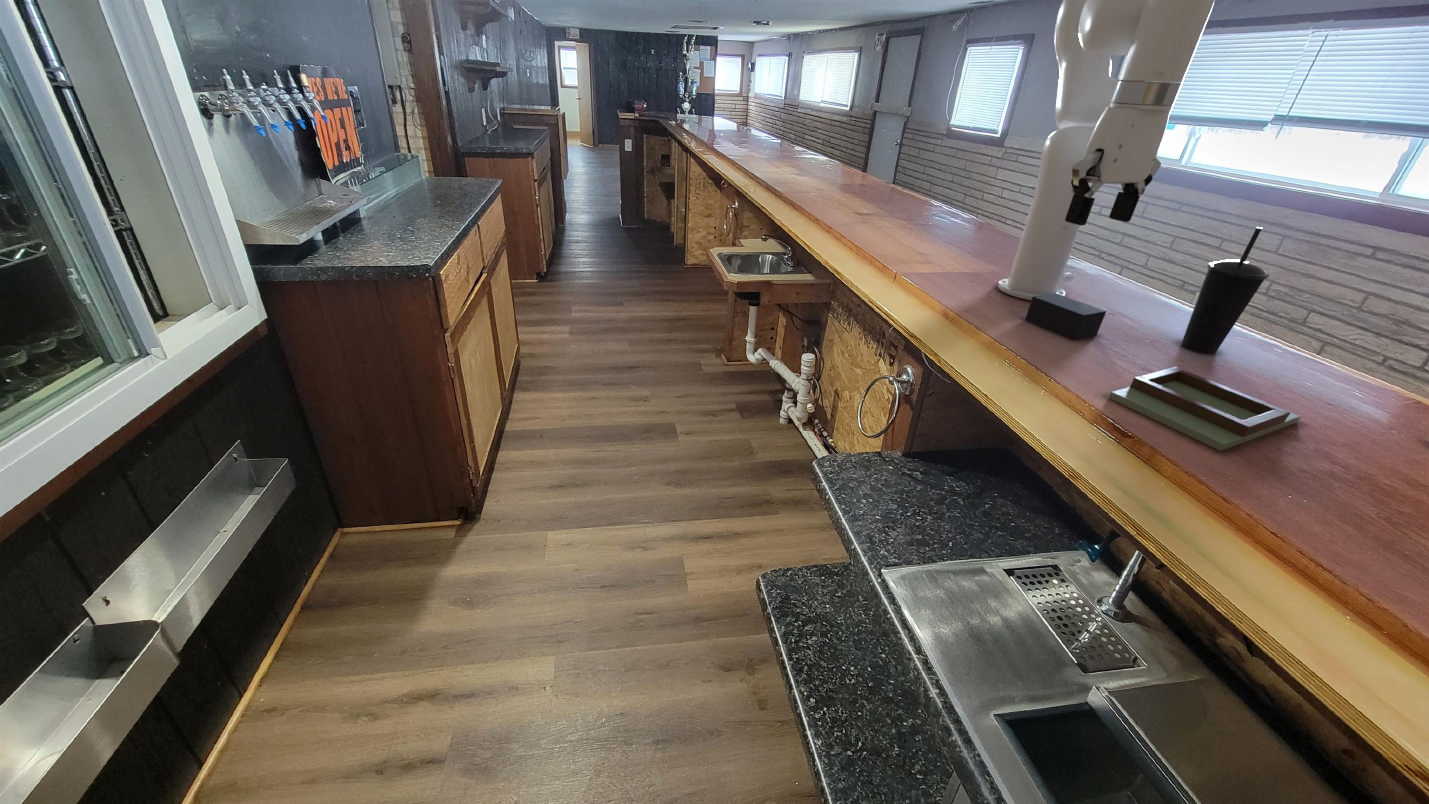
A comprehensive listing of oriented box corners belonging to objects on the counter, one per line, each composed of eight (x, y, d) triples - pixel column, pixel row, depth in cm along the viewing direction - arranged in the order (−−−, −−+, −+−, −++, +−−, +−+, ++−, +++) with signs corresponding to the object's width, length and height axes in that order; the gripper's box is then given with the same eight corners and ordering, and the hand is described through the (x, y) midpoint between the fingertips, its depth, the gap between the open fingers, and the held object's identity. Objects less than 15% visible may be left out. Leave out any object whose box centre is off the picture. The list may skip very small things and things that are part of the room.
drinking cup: (1175, 335, 100) (1231, 220, 91) (1229, 349, 96) (1294, 229, 86) (1166, 346, 96) (1224, 226, 86) (1222, 361, 91) (1290, 236, 81)
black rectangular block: (1024, 319, 105) (1032, 296, 102) (1046, 315, 107) (1054, 292, 105) (1074, 340, 97) (1083, 315, 94) (1096, 335, 99) (1106, 311, 97)
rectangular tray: (1184, 377, 85) (1191, 362, 84) (1297, 422, 74) (1307, 406, 73) (1108, 397, 79) (1115, 382, 77) (1220, 451, 68) (1231, 433, 66)
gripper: (1158, 96, 85) (1113, 213, 93) (1076, 94, 79) (1036, 219, 88) (1211, 99, 79) (1158, 224, 87) (1126, 97, 73) (1078, 231, 82)
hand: (1097, 221), depth 88 cm, fingers open, 9 cm apart
